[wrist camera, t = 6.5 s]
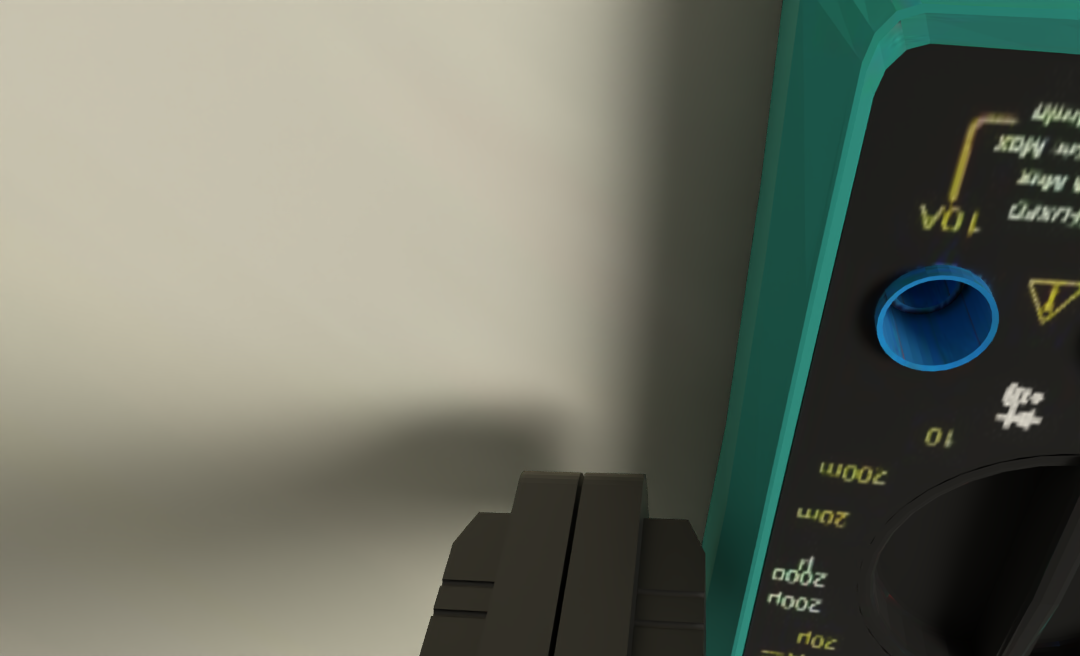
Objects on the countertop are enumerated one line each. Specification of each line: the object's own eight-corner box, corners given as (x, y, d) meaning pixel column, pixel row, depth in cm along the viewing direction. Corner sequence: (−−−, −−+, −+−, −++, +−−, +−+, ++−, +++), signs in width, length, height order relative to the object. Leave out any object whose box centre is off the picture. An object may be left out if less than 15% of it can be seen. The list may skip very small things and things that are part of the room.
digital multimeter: (1688, -150, 9) (2061, -67, 6) (1085, 812, 17) (1143, 1005, 15) (806, -203, 9) (830, -146, 7) (650, 741, 18) (637, 913, 15)
